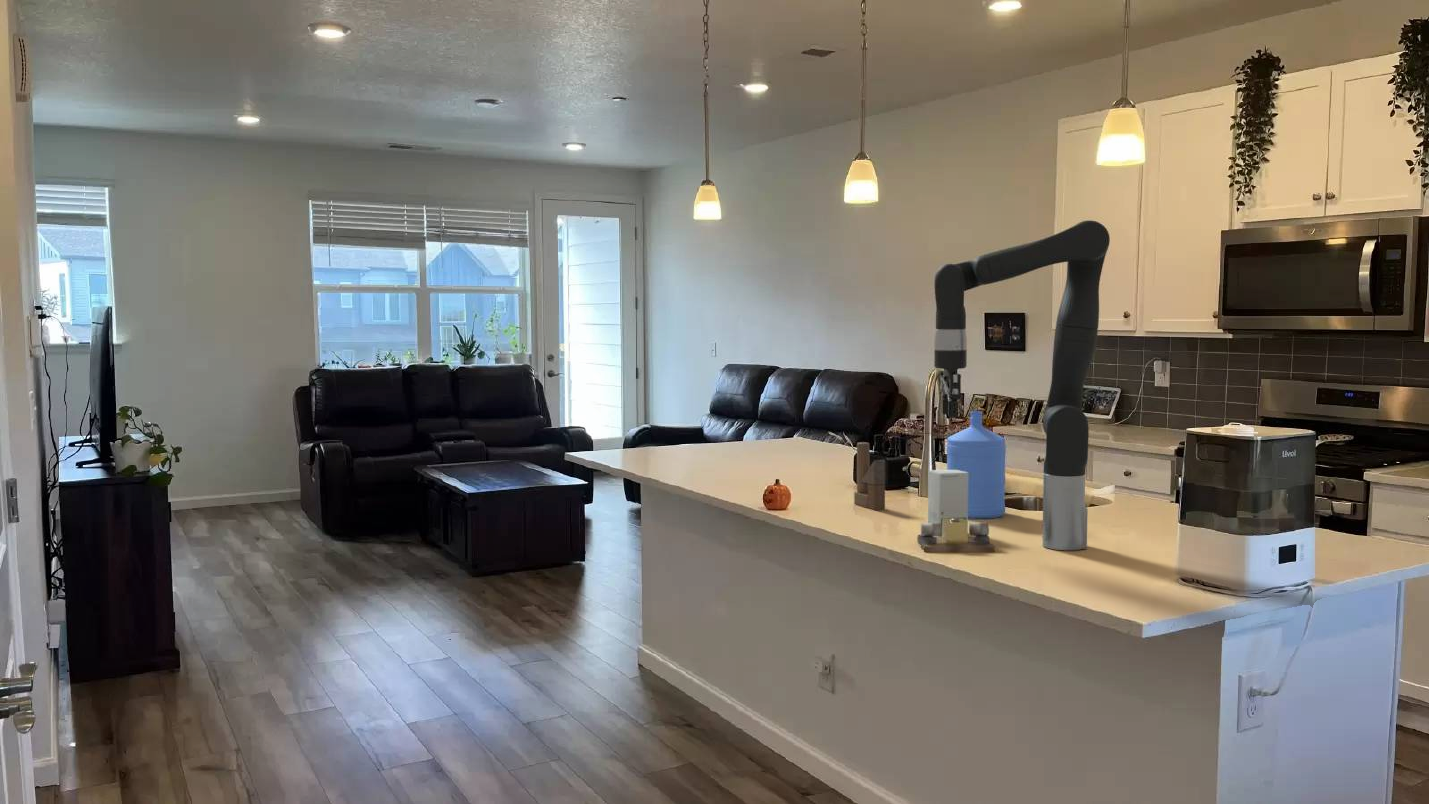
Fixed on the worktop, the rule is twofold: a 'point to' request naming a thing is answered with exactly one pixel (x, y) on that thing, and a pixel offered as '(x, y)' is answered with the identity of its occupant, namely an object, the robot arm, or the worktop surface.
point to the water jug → (980, 467)
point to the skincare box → (947, 495)
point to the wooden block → (869, 479)
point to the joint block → (955, 531)
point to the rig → (938, 545)
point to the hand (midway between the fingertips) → (950, 415)
